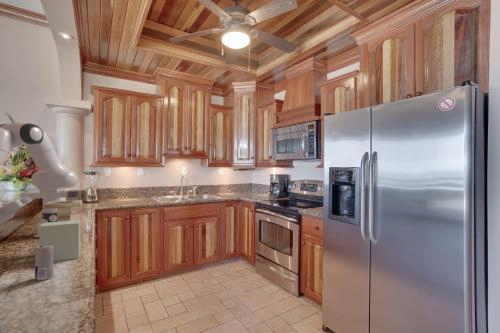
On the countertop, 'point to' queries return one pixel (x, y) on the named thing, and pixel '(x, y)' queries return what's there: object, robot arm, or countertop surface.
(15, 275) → the countertop surface
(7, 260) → the countertop surface
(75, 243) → the pale green box
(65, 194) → the hammer
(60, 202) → the stand
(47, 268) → the energy drink
